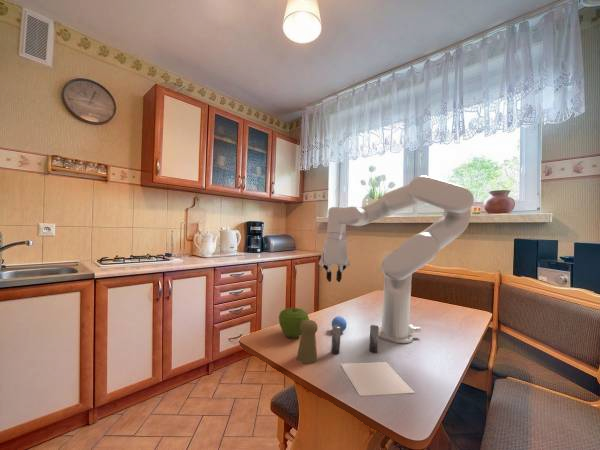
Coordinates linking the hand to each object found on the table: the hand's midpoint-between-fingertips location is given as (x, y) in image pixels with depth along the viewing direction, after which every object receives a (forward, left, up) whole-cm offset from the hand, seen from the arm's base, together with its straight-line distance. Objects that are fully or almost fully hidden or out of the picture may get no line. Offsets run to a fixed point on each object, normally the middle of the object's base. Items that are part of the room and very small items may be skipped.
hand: (333, 280), depth 108 cm
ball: (0, +10, -14) cm, 17 cm away
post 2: (-6, +26, -17) cm, 31 cm away
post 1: (+6, +26, -17) cm, 31 cm away
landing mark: (0, +40, -17) cm, 43 cm away
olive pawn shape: (+16, +29, -17) cm, 37 cm away
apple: (+18, +13, -17) cm, 28 cm away
